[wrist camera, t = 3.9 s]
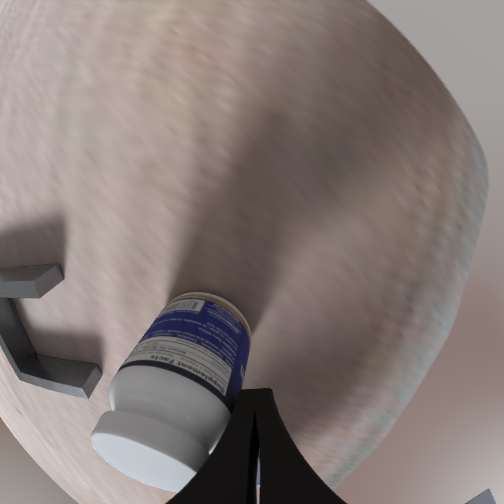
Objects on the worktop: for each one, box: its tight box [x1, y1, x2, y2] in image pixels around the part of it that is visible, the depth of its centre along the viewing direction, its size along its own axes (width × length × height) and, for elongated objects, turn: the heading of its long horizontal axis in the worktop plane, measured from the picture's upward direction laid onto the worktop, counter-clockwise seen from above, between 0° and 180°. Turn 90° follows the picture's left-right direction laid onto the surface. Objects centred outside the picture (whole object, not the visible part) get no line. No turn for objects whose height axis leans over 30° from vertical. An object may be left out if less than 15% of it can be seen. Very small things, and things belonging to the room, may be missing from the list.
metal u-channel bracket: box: [0, 263, 102, 399], centre depth 16 cm, size 10×9×3 cm
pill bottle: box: [91, 292, 251, 492], centre depth 12 cm, size 6×6×10 cm
